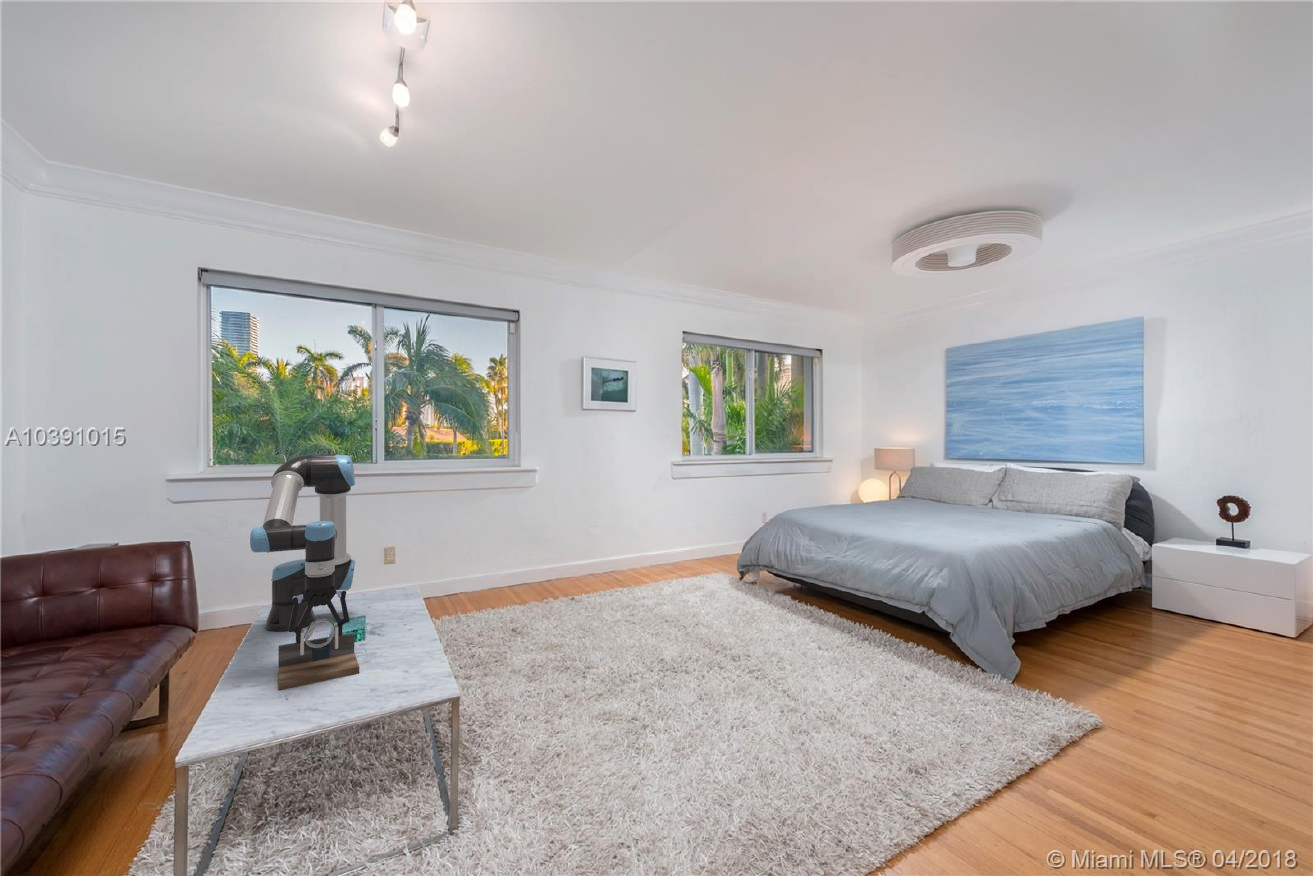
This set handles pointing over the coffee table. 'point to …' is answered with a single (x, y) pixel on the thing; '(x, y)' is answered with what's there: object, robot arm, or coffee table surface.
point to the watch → (320, 649)
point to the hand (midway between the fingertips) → (319, 650)
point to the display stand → (316, 662)
